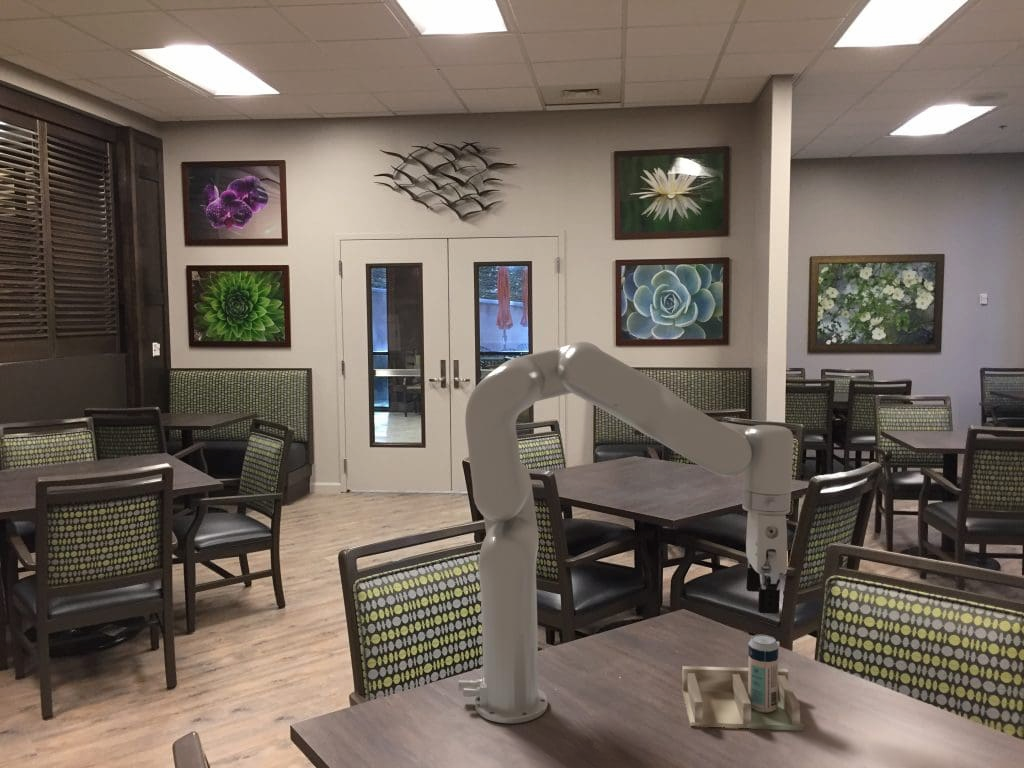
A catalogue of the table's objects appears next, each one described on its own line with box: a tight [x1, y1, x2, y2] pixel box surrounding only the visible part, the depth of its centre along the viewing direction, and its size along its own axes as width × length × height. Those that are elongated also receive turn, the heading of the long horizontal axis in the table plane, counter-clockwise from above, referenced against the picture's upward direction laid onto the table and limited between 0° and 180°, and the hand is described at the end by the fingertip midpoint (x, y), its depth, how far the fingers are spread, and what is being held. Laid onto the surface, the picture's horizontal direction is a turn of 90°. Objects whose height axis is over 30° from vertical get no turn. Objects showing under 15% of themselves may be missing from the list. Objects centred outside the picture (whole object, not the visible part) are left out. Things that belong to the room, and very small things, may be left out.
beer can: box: [747, 633, 779, 713], centre depth 136 cm, size 5×5×12 cm
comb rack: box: [681, 665, 805, 732], centre depth 137 cm, size 18×12×5 cm, turn 84°
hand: (761, 601), depth 134 cm, fingers open, 9 cm apart
